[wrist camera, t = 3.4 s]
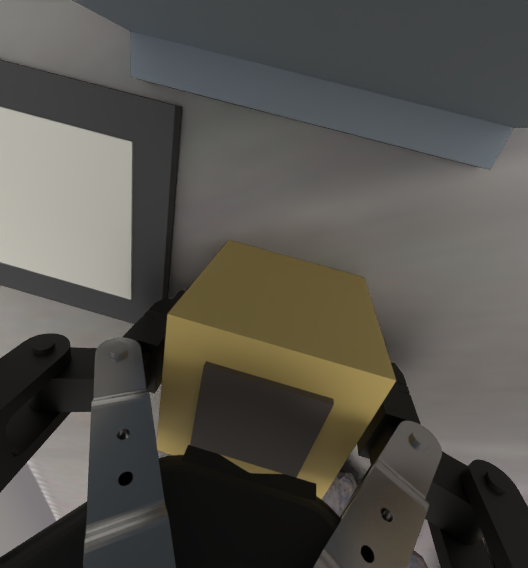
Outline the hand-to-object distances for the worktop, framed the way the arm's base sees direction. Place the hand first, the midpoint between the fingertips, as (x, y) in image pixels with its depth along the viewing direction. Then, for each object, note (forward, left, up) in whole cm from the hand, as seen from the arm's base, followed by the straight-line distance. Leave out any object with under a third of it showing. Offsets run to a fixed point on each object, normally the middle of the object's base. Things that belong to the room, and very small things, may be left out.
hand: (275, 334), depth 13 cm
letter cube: (0, 0, -2) cm, 2 cm away
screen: (-10, -1, -1) cm, 10 cm away
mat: (-3, -11, -1) cm, 11 cm away
